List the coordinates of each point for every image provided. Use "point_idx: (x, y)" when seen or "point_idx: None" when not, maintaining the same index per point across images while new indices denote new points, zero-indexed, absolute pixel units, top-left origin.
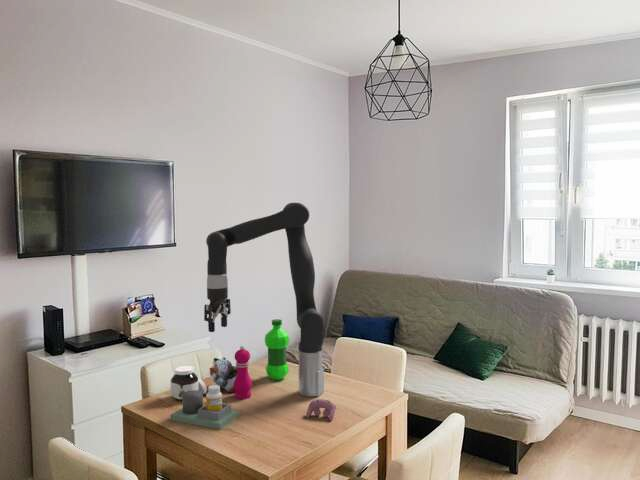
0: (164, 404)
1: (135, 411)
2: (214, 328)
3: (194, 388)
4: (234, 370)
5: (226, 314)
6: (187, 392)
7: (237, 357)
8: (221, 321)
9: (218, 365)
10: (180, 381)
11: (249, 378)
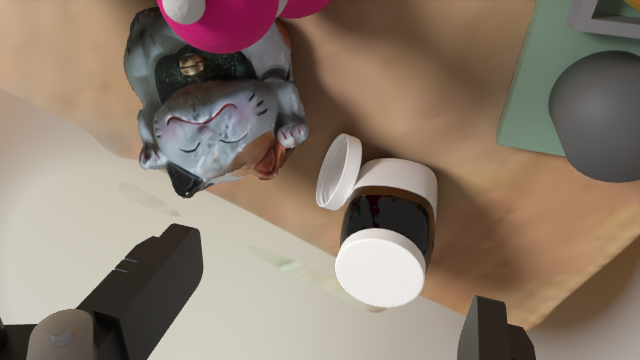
0: (474, 238)
1: (555, 301)
2: (483, 327)
3: (409, 175)
4: (203, 63)
5: (75, 354)
6: (601, 166)
7: (272, 8)
8: (169, 321)
9: (236, 149)
10: (432, 246)
11: None
